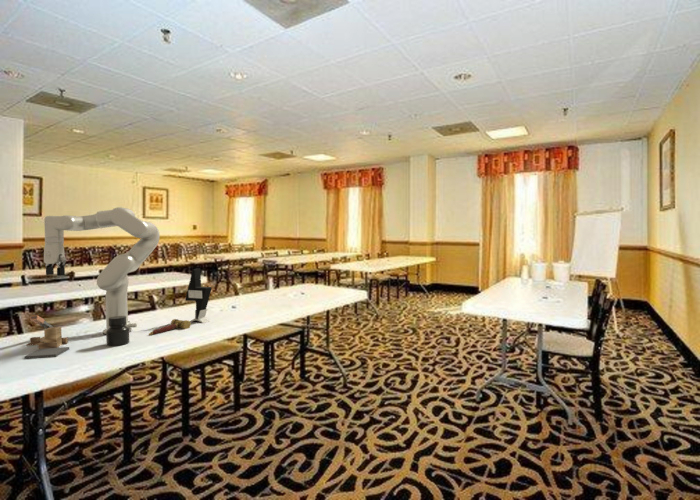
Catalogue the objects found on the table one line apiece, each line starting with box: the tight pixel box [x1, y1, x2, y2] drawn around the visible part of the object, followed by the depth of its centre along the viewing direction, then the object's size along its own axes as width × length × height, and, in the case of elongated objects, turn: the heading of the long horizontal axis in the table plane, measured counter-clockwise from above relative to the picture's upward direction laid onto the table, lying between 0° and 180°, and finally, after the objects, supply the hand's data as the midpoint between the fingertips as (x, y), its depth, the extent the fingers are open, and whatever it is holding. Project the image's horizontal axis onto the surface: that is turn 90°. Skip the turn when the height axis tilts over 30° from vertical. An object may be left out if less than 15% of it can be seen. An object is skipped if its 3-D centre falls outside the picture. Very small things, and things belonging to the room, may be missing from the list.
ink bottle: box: [105, 316, 130, 347], centre depth 176 cm, size 10×9×12 cm
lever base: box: [25, 336, 45, 347], centre depth 183 cm, size 5×18×4 cm, turn 12°
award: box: [184, 268, 212, 324], centre depth 221 cm, size 15×5×30 cm, turn 68°
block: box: [43, 326, 63, 347], centre depth 173 cm, size 4×4×8 cm
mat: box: [23, 346, 70, 360], centre depth 161 cm, size 11×11×1 cm
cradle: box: [37, 337, 69, 350], centre depth 173 cm, size 7×10×2 cm
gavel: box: [148, 318, 192, 336], centre depth 199 cm, size 21×5×10 cm
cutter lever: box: [29, 314, 54, 329], centre depth 182 cm, size 3×15×2 cm, turn 12°
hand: (55, 275), depth 194 cm, fingers open, 9 cm apart
